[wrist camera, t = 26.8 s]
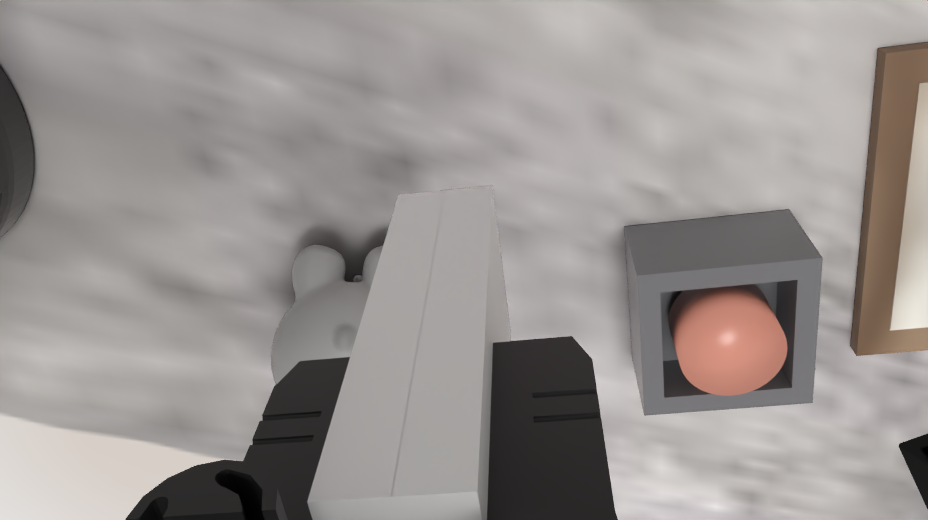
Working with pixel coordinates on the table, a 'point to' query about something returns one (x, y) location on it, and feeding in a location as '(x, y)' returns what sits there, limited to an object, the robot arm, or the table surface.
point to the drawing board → (895, 210)
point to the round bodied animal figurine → (321, 309)
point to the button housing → (719, 265)
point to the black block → (917, 462)
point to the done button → (727, 339)
